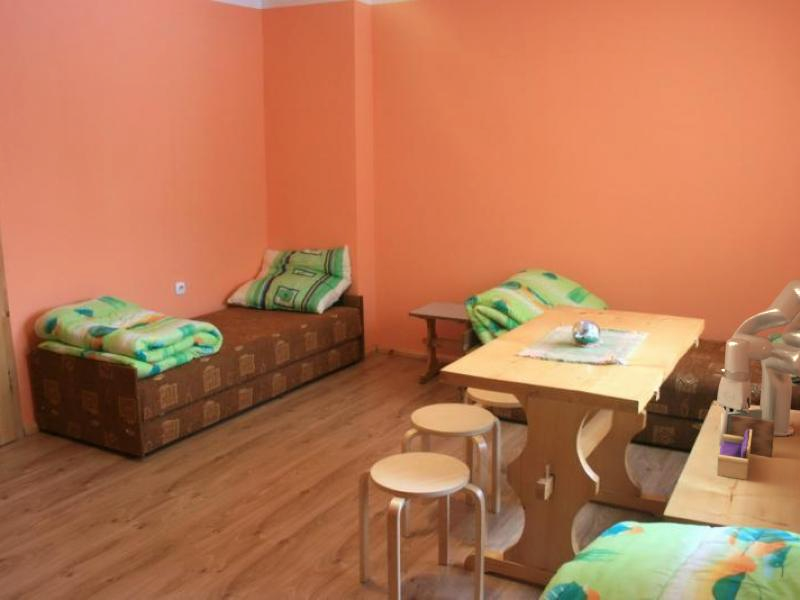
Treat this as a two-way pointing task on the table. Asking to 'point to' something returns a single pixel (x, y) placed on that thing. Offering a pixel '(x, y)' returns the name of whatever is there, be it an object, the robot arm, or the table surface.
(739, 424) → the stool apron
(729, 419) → the grey panel
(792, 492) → the table surface
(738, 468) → the toy sofa
